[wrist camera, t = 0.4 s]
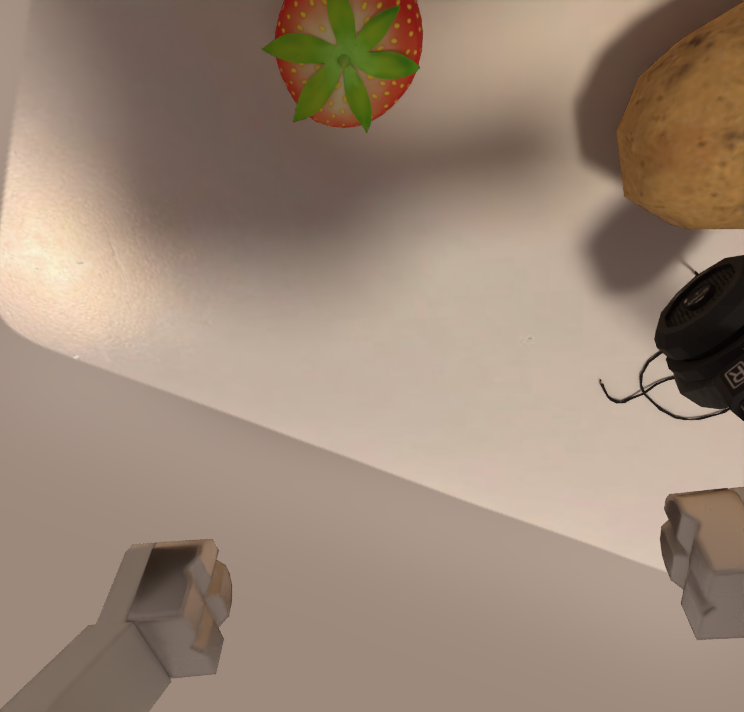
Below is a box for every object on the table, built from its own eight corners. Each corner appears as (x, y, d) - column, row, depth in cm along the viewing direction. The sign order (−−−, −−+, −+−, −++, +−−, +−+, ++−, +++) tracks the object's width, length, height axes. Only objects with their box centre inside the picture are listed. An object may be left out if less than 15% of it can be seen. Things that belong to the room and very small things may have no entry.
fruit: (302, -66, 24) (271, -58, 18) (433, -27, 25) (449, -6, 18) (280, 80, 27) (245, 134, 21) (396, 112, 28) (400, 173, 21)
